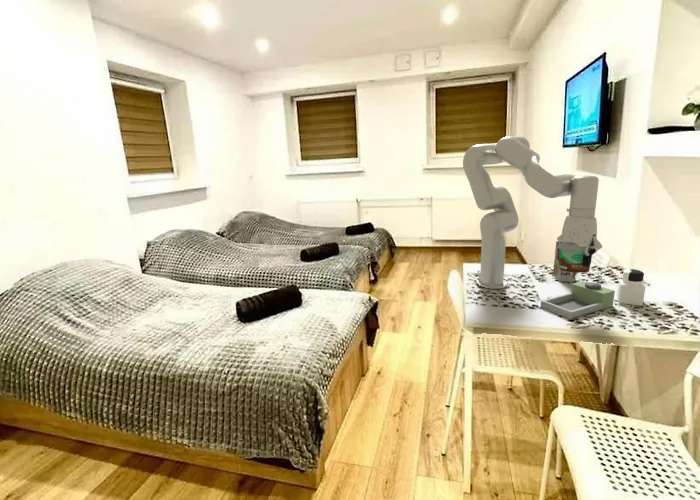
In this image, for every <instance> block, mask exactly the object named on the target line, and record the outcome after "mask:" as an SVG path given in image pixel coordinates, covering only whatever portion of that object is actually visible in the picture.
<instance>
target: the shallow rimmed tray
mask: <svg viewBox="0 0 700 500" xmlns="http://www.w3.org/2000/svg"><path fill="white" fill-rule="evenodd" d="M570 291H571V292H568V293H564V294H561V295H557V296H554V297H550V298H546V299H543V300H540V308H542V309H545V310H548V311H550V312H552V313H554V314H556V315H560V316H561V317H564V318H567V319H569V320H573V319H576V318H579V317H582V316H585V315H586V316H587V315H589V314H592V313H594V312H595V313H596V312H599V311H603V310H605V309H608V308H611V307H613V306H614V299H615V293H616V291H615V290H614V289H612V288H611V289H610V288H607V287H603V286H602V284H601V283H599V282H598V283H597V282H591V281H590V282H589V281H588V282H587V281H579V282H573V283H571V290H570Z"/></svg>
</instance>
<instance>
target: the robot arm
mask: <svg viewBox="0 0 700 500" xmlns="http://www.w3.org/2000/svg"><path fill="white" fill-rule="evenodd" d="M530 146H531V144H530V142H529V140H528V139H527V138H525V137H524V136H520V135H519V136H516V135H515V136H513V135H512V136H505V137H502V138H500V139H499V140H498V141H497V143H481V144H479V143H478V144H475V145H472V146H470V147H469V148H468V149H467V150H466V151H465V152H464V153H465V154H464V155H463V160H462V168H463V171H464V173H465V176H466V178H467V180H468V183H469V185H470V189H471V191H472V195H473V198H474V201H475V203H476V206H477V208H478V209H479V210H481V211H490V210H493V211H492V212H489V213H486V214H485V215H484V216H482V218H481V219H480V222H479V230H480V237H481V248H480V249H481V251H480V269H479V270H477V271H476V272H475V276H477V277H478V279H476V281H475V282H476V283H477V284H478V285H479V286H478V285H477V284H476V283H475V284H476V285H477V286H478V287H480V286H482V287H481V288H483V287H485V288H484V289H488V288H489V289H490V290H499V289H504V288H506V287H508V282H507V281H506V280H505V279H504V278H505V265H506V264H505V261H506V240H505V237H504V234H506V233H509V232H512V231H514V230H515V229H517V228H518V225H519V215H518V212H517V209H516V206H515V204H514V201H513V198H512V195H511V192H510V191H509V190H508V189H507V188H506V187H504V186H501V185H495V186H494V184H493V182H492V179H491V176H490V174H489V173H488V171H487V169H486V168H484V166H490V165H497V164H498V165H499V164H501V163H507V164H508V165H510V166H511V167H513V168H514V169H515V170H517V171H518V172H520V173H521V174H522V177H523V179H524V181H525V183H526V184H528V186H529V187H531V189H532V190H534V191H536V192H537V193H539V194H540V195H542V196H544V197H545V198H548V199H555V198H559V197H566V196H567V197H568V196H570V201H569V207H567V208H566V212H567V213H568V215H566V216H565V219H564V222H563V226H562V229H561V230H562V231H561V234H560V235H559V236H557V238H556V241H559V242H560V243H564V244H575V245H577V246H578V247H581V248H585V251H584V252H585V255H584V256H583V263H582V266H583V267H586V266H590V267H591V263H592V258H593V255H594V254H596V253H598V251H599V250H601V249H602V248H603V245H602V243H601V242H600V241H599V240H598V222H597V217H595V215H596V207H597V200H598V199H597V198H598V189H599V181H600V180H599V179H600V178H599V177H598V176H596V175H576V174H575V175H574V174H558V175H557V174H556V175H553V174H552V173H551V172H548V171H547V170H546V169H545V168H543V167H542V166H541V165H540V160H541V156H540V155H539V154H538V153H537V152H536V151H534V150H533V149H531V147H530ZM592 246H595V247H594V248H592ZM589 247H591V250H588V248H589Z"/></svg>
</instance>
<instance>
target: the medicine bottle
mask: <svg viewBox="0 0 700 500" xmlns="http://www.w3.org/2000/svg"><path fill="white" fill-rule="evenodd" d="M622 272H623V273H622V276H621V278H622V279H620V278H619V280H618V286H617V291H616V292H617V294H616V298H617V302H618V304H624V305H633V306H639V307H643V305H644V300H645V299H644V298H645V293H646V292H645V291H646V286H645V284H644V282H643V281H644V278H645V277H644V275H645V273H644V271H641V270H640V269H635V268H629V269H623V271H622Z"/></svg>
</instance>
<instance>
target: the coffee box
mask: <svg viewBox="0 0 700 500" xmlns="http://www.w3.org/2000/svg"><path fill="white" fill-rule="evenodd" d="M558 244H559V241H558V240H556V241H555V248H554V249H555V252H554V259H553V260H554V262H553V272H552V273H553V274H552V275H553V276H554V277H555V278H556V279H557V280H558V281H559V282H573V283H576V282H575V281H576V274H577V273H575V272H567V271H563V270H560V254H559V248H557V247H558Z"/></svg>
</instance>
